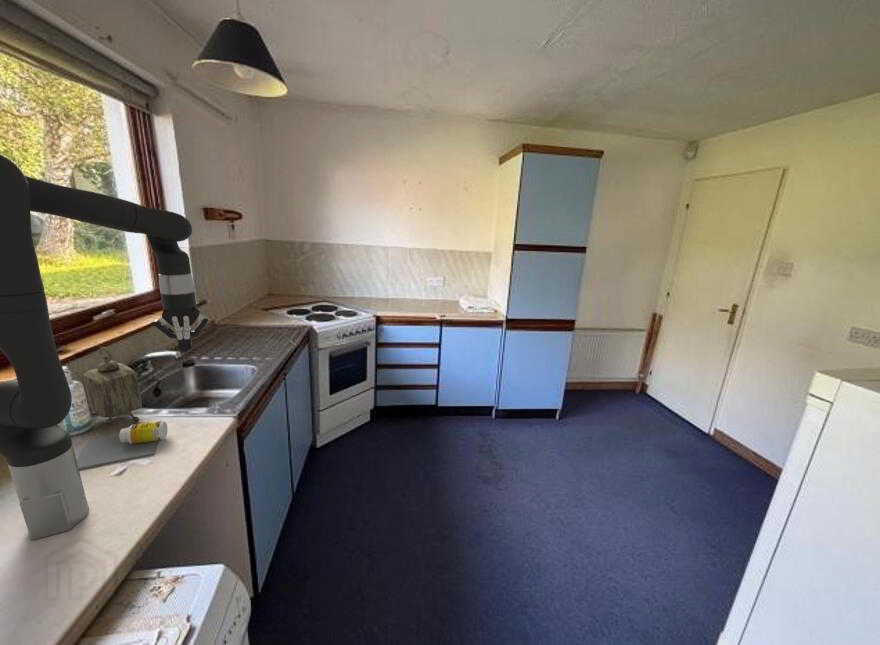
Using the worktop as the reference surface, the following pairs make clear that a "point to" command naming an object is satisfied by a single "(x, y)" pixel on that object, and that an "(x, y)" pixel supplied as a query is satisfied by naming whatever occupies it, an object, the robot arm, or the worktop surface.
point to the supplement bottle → (144, 432)
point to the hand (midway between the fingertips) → (186, 350)
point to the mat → (113, 451)
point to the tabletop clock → (112, 389)
